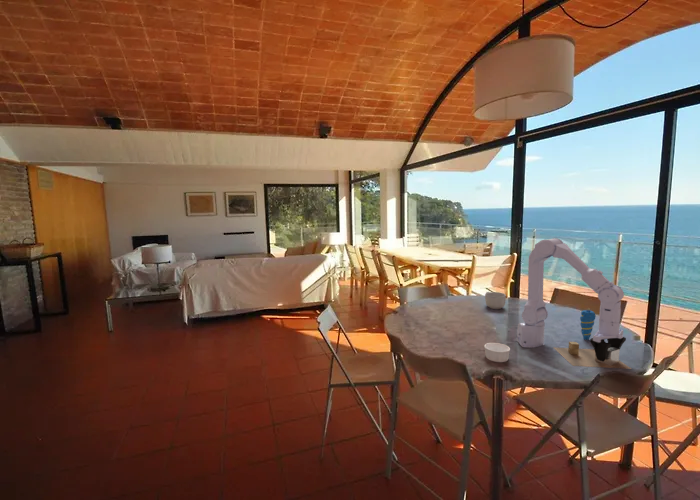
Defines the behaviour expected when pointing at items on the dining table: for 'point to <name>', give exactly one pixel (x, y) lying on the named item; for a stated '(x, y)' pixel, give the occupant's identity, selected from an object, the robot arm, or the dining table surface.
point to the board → (584, 357)
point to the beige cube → (610, 356)
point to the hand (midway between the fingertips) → (606, 358)
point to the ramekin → (496, 352)
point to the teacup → (495, 300)
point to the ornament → (587, 323)
